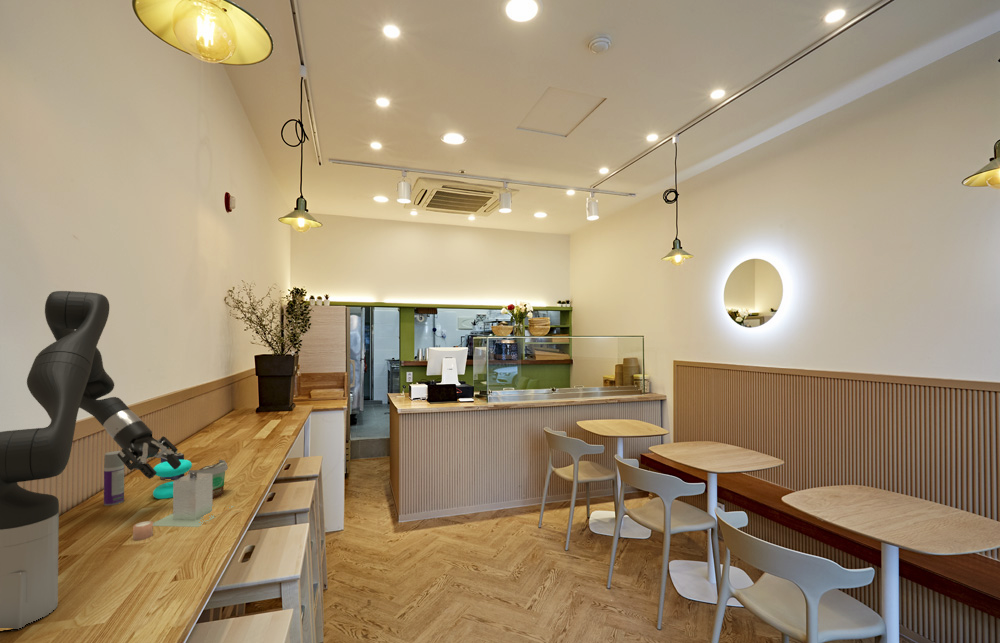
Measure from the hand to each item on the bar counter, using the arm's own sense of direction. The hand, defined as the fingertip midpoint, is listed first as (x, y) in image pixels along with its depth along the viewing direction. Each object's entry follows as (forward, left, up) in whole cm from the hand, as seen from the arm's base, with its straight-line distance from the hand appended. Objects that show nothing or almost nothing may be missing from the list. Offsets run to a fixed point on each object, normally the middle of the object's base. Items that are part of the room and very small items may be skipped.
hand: (166, 471), depth 126 cm
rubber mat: (-2, -8, -12) cm, 15 cm away
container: (+15, +21, -13) cm, 29 cm away
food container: (+13, -7, -13) cm, 19 cm away
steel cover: (-2, -8, -12) cm, 14 cm away
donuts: (+19, +7, -13) cm, 24 cm away
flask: (+36, +15, -13) cm, 41 cm away
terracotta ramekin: (-14, -2, -12) cm, 19 cm away
